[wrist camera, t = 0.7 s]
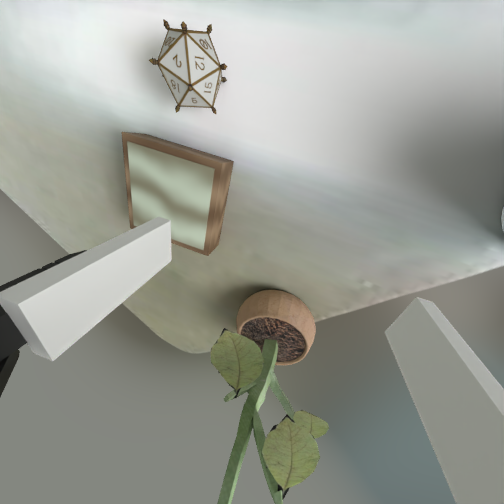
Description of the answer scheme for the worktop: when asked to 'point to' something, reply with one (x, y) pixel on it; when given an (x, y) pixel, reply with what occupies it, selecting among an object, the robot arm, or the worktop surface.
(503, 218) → the supplement tub
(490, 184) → the worktop surface
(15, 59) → the worktop surface
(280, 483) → the potted plant
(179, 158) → the walnut framed mirror
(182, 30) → the game die
